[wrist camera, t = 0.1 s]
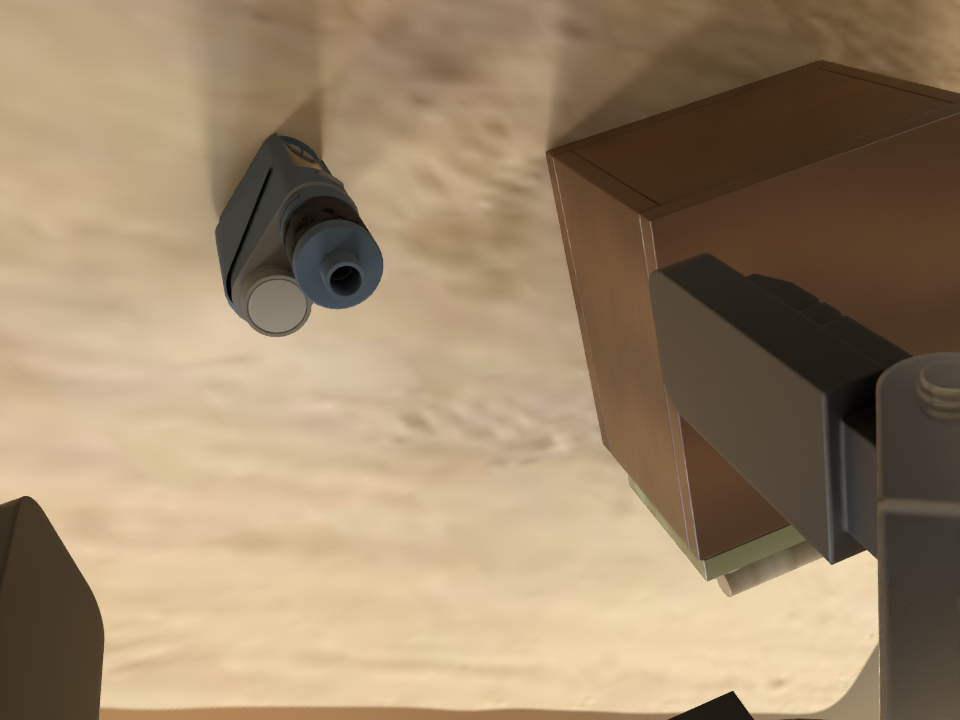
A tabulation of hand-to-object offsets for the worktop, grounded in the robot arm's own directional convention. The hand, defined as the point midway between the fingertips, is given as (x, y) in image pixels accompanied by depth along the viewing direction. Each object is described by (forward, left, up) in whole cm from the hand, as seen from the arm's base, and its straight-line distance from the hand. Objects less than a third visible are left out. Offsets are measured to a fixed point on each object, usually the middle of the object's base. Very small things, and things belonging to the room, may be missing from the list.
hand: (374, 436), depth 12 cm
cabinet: (+13, +17, -24) cm, 32 cm away
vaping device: (+4, 0, -24) cm, 24 cm away
